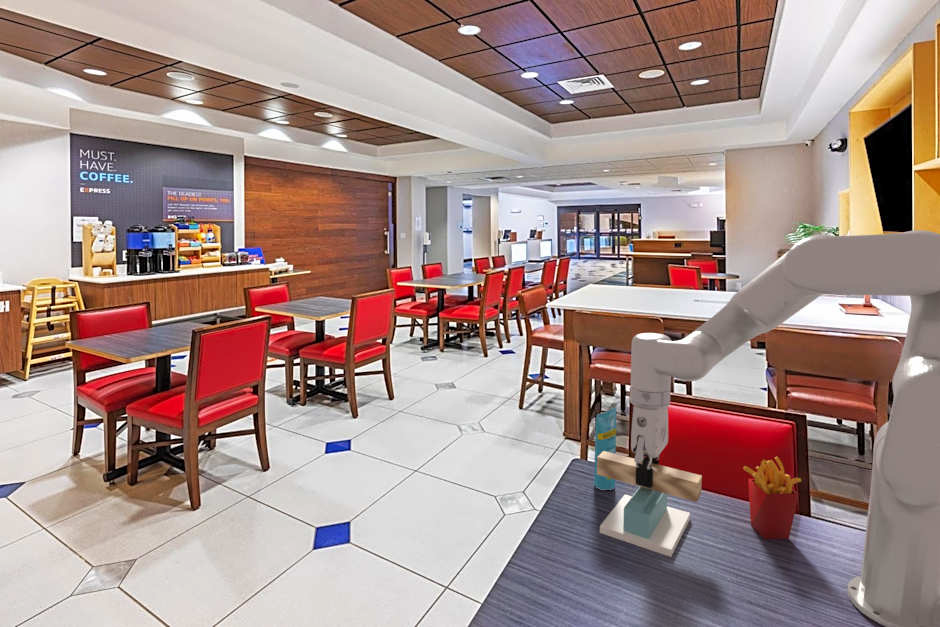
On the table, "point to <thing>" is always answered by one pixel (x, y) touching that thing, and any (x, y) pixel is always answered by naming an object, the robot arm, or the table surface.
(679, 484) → the oak bar
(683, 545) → the table surface
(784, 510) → the french fries
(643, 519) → the ridge stand
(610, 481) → the tube
